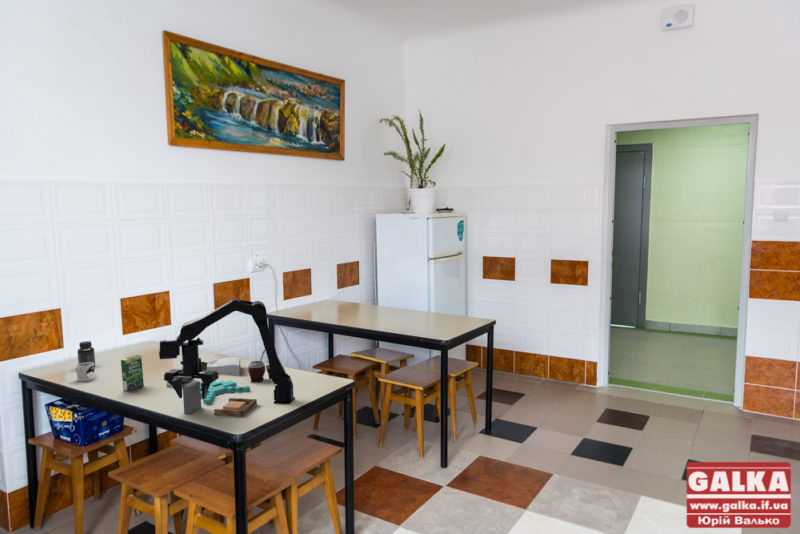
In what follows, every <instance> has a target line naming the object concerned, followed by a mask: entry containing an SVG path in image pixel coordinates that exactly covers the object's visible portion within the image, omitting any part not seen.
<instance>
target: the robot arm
mask: <svg viewBox="0 0 800 534" xmlns="http://www.w3.org/2000/svg"><path fill="white" fill-rule="evenodd" d="M234 312H239V313H242V314H246V315H248V316H251V317H252V319H253V321H254V323H255V325H256V326H257V328H258V331H259V334H260V337H261V340H262V343H263V347H264V350H266V351H265V354H266V356H267V360H268V364H267V365H265V371H267V376H268V379H269V380H271V382H272V383H273V384H275V386H274V389H273V400H274V401H273V404H283V405H291V404H292V403H293V401H294V400H295V399H296V397H295V396H294V383H293V380H292V377H291V375H290V374H288V373H286V370H285V367H284V366H283V364H282V362H281V360H280V358H279V357H278V354H277V351H276V347H275V343H274V341H273V337H272V335H271V331H270V328H269V323H268V315H267V314H268V313H267V308H266V305H265V304H264V302H262V301H260V300H256V301H250V300H243V299H238V298H232V299H230V300H229V301H228V302H226V303H224V304H223V305H221V306H218V307H217V308H216V309H214V310H212V311H211V312H209V313H207V314H205V315H203V316H201V317H198V318H195V319H192V320H188V321H187V322H185V323H183V324H182V326H181V329H180V332H179V335H177V337H176V339H169V340H167V339H161V340H159V351H158V356H159V360H160V361H161V360H170V359H171V360H172V359H173V360H174V359H178V357H179V356H181V360H180V365H183V372H182V371H181V370H180V369H172V368H171V369H170V370H168V371H165V373H164V375H163V381H165V382H166V381H168V383H170V384H171V387H172V388H173V390H174V391H175V393H176V395H177V396H178V398H179V399H182V398H183V385H182V384H181V382H182V378H194V379H198V380H199V379H200V380H201V382H200V383H201V389H202V397H201V398H202V400H203V399H205V398H206V395H207V392H208V389H209V386H210V384H211V383H212V382H214V381H217V380H218V379H219V378H220V377H219V376H220V374H218V372H217V371H207V372H205V373H203V372H202V371H206V370H207V361H202V359H201V357H199V356H200V355H199V346H203V345H204V340H202V339H201V338H200V337H198V336H199V335H200V334H202V332H204V331H205V330H206V329H207V328H208V327H209V326H212V325H213V324H215V323H217V322H219V321H221V320H222V319H223V318H225V317H227V316H229V315H230V314H233V313H234ZM196 337H197V338H196Z"/></svg>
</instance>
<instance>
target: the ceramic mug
mask: <svg viewBox="0 0 800 534" xmlns="http://www.w3.org/2000/svg"><path fill="white" fill-rule="evenodd" d="M173 369H180V370H181V371H182V372H183V365H182V364H180V365H176V366H175V367H173ZM194 379H195V378H182V382H181V384H182V386H185V385H187V384H188V383H190V382H192V381H195V380H194ZM165 384H166V387H169V388H170V387H172V386H171V384H170V383H168V381H165Z"/></svg>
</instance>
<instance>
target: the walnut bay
mask: <svg viewBox="0 0 800 534" xmlns="http://www.w3.org/2000/svg"><path fill="white" fill-rule="evenodd" d="M230 401H237V402H245V403H246V406H245V407H244V408H243V409H241V410H226V409H223V408H222V409H221V408H215V409H214V410H213V412H214V413H213V414H214V416H225V417H240V418H241V417H242V418H243V417H244V416H245V415H246V414H248V413H249V412H250V411H251V410H253V408H254V407H255V406H257V405H258V399H256V398H243V397H242V398H239V397H238V398H237V397H229V398H228V403H229V402H230Z"/></svg>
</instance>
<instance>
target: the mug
mask: <svg viewBox="0 0 800 534" xmlns="http://www.w3.org/2000/svg"><path fill="white" fill-rule="evenodd" d="M75 367H76V380H77V382H79V383H82V382H84V383H85V382H91V381H93V380H95V377H96V375H95V367H94V363H92V362H86V363H80V364H76V366H75Z"/></svg>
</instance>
